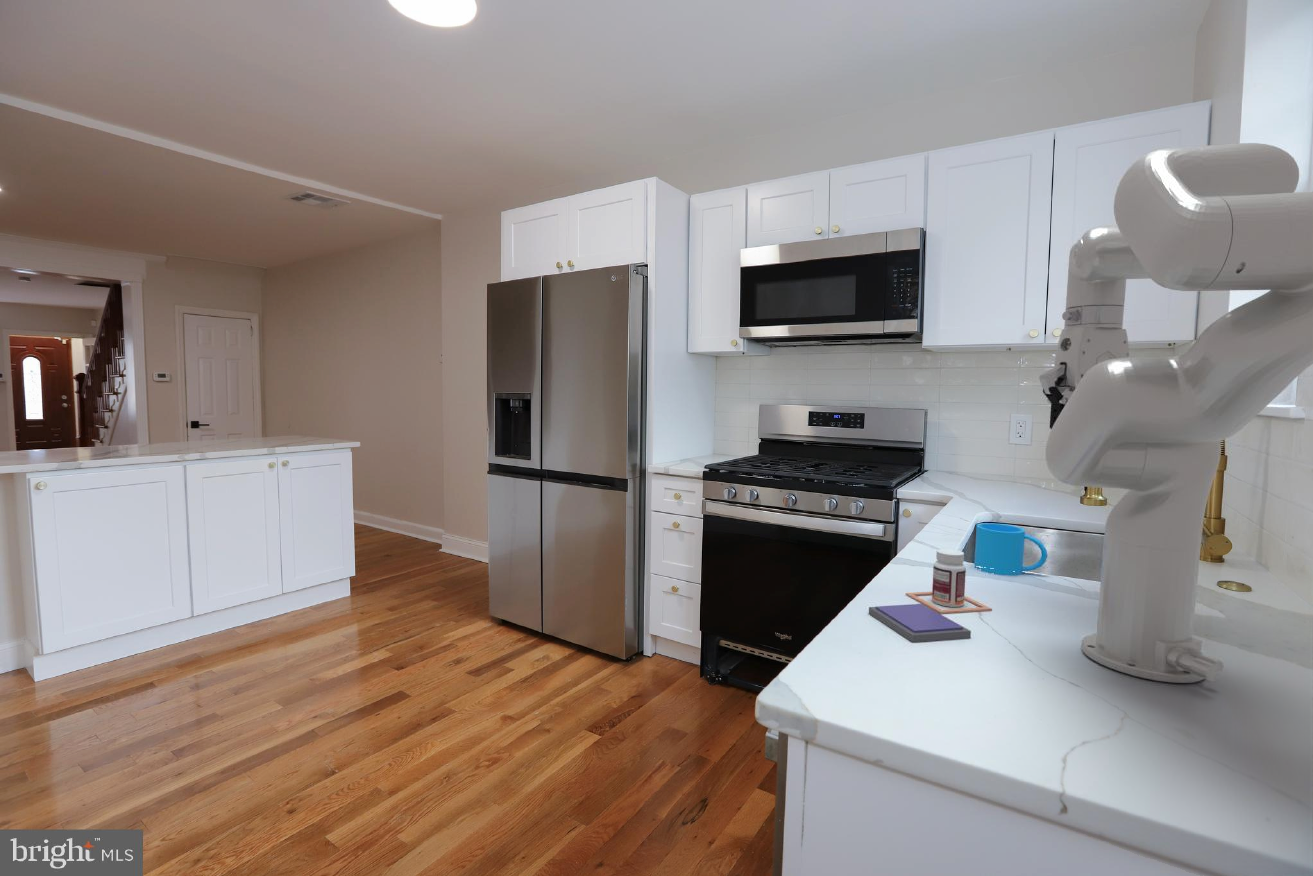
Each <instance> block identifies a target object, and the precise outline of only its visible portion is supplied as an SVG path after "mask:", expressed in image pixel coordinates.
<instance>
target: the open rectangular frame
mask: <svg viewBox="0 0 1313 876" xmlns="http://www.w3.org/2000/svg"><path fill="white" fill-rule="evenodd" d="M905 596H907V597H909V598H910V599H913V600H914V601H916V602H918V603H919V604H923V605H924V606H926V607H928V608H930V609H932V610H934V611H935V612H937V613H939V614H941V615H944V614H945V615H947V614H959V613H961V614H963V613H974V612H975V613H977V612H978V613H979V612H990V611H992V610H993V608H991V607H989V606H987V605H985V604H983V603H981V602H979V601H976V600H974V599H972V598H970V597H968V596H966V595H964V601H966V602H968V603H970V604H973V605H974V606H976V607H969V608H967V607H966V608H965V607H964V608H953V609H941V608H939V607H937V606H936V605H933V604H932V603H930V602H928V601H926V600H924V599H923V598H920V596H932V591H921V592H920V591H919V592H918V591H917V592H905Z"/></svg>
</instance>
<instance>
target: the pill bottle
mask: <svg viewBox="0 0 1313 876" xmlns="http://www.w3.org/2000/svg"><path fill="white" fill-rule="evenodd" d="M935 557H936V561H934V563H933V569H932V571H933V572H932V585H931V586H932V588H931V592H932V595H931V601H932V602H933V603H935V604H936V605H938V606H942V607H947V608H948V607H950V608H959V607H960V608H961V607H963V606H964V604H965V600H964V596H965V590H966V575H967V574H966V573H967V569H966V565H965V564H964V561H965V553H964V552H963V551H961V550H957V549H954V548H953V549H952V548H939V549H937V550H936V556H935Z"/></svg>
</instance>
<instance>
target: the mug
mask: <svg viewBox="0 0 1313 876" xmlns="http://www.w3.org/2000/svg"><path fill="white" fill-rule="evenodd" d="M975 534H976V535H975V549H974V550H975V551H974V564H973V565H975V567H974V568H975V569H976V568H977V569H976V570H978V569H981V571H980V572H983V573H987V572H988V573H987V574H991V573H994V574H993V575H998V576H1006V575H1007V576H1008V577H1009V576H1010V577H1013V576H1020V575H1022V574H1023V572H1029V571H1035V570H1036V569H1039V568H1041V567H1042V566H1043V565H1044V564H1045V563H1046V561H1047V559H1048V551H1047V548H1046V547H1045V545H1044V544H1043V542H1041V541H1040V540H1039V539H1038V538H1036V537H1033V536H1032V535H1029V534H1026V530H1025V529H1024V528H1022V527H1018V526H1016V525H1015V526H1014V525H1010V524H1005V523H995V522H994V523H990V522H989V523H988V522H985V523H982V522H981V523H978V524H977V525H976V533H975ZM1026 540H1028V541H1031V542H1033V543H1034V544H1035V545H1036V546H1037V547H1038V548H1039V549H1040V553H1041V557H1040V559H1039V560H1038V561H1037V562H1036V563H1035V564H1032V565H1028V566H1024V555H1025V553H1024V552H1025V541H1026ZM976 566H981V567H983V568H979V567H976ZM984 567H986V568H984ZM990 568H994V569H990ZM1013 571H1015V572H1013Z"/></svg>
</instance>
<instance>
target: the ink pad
mask: <svg viewBox="0 0 1313 876" xmlns="http://www.w3.org/2000/svg"><path fill="white" fill-rule="evenodd" d="M868 614H869V615H870V616H871V617H873V618H874V619H876V620H878V621H879V622H880V623H882V624H884V625H886V626H887V627H889V628H890V629H892V630H893V631H894V632H896V633H898V634H899V635H900V636H902V637H904V638H905V639H907V640H909V642H911V643H922V642H935V641H948V640H949V641H950V640H963V639H971V635H972V631H971V630H970V629H968V628H966V627H965V626H963V625H961V624H959V623H958V622H955V621H953V620H951V619H950V618H948V617H946V616H944V614H940V613H938V612H936V611H934V610H933V609H931V608H929V607H927V606H925V605H923V604H922V603H912V604H911V603H909V604H898V605H897V604H896V605H893V604H892V605H882V606H881V605H879V606H869V607H868Z"/></svg>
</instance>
